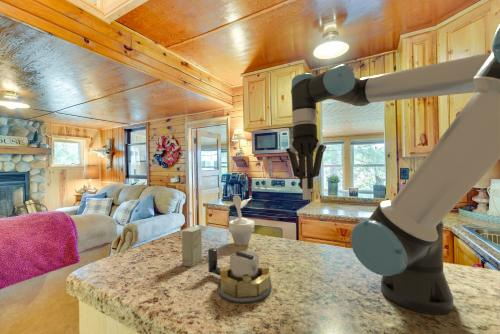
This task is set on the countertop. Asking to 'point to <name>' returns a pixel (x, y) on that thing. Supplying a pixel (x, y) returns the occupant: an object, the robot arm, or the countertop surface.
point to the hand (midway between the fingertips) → (306, 199)
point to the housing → (244, 266)
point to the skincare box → (191, 246)
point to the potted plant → (241, 224)
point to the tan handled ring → (239, 287)
